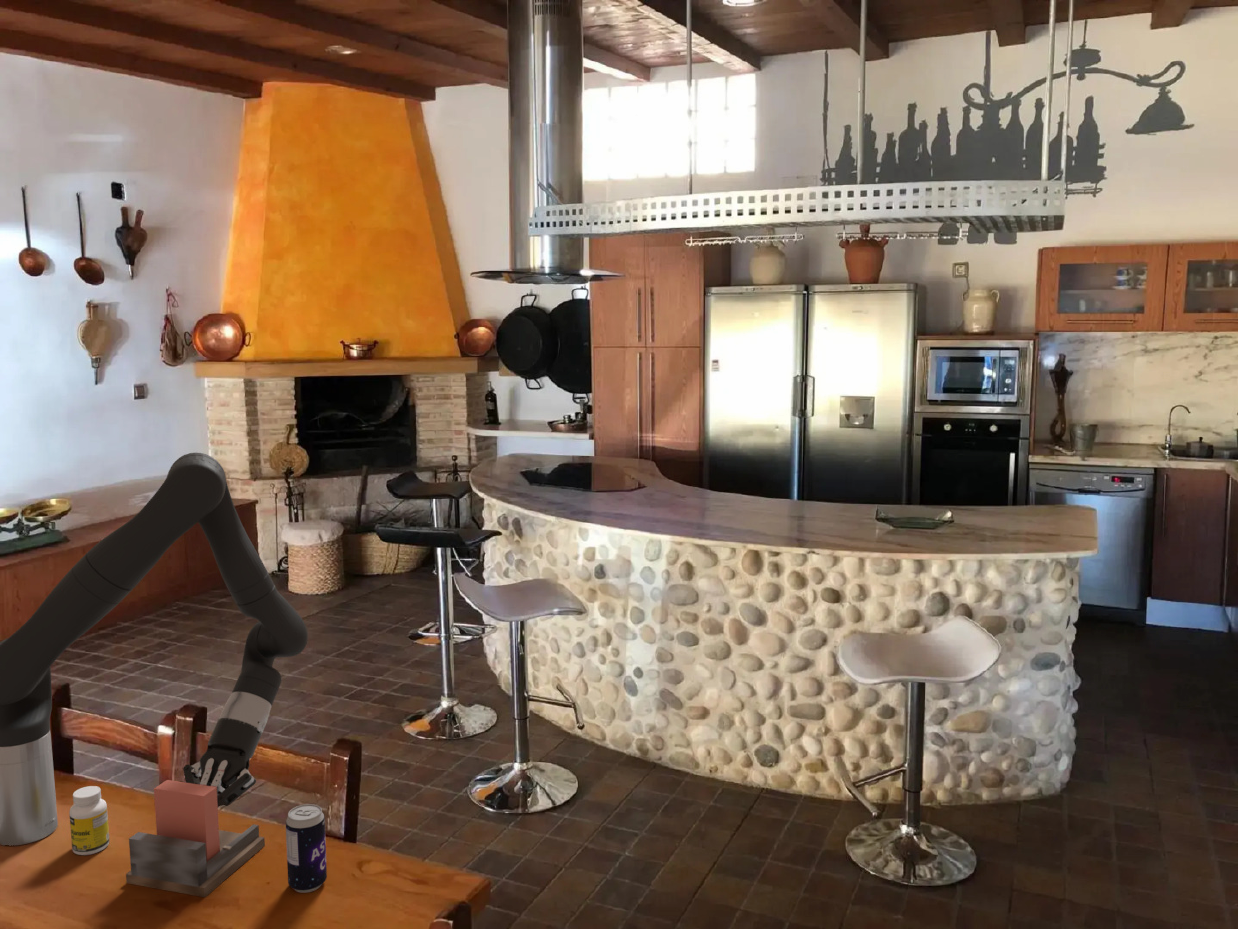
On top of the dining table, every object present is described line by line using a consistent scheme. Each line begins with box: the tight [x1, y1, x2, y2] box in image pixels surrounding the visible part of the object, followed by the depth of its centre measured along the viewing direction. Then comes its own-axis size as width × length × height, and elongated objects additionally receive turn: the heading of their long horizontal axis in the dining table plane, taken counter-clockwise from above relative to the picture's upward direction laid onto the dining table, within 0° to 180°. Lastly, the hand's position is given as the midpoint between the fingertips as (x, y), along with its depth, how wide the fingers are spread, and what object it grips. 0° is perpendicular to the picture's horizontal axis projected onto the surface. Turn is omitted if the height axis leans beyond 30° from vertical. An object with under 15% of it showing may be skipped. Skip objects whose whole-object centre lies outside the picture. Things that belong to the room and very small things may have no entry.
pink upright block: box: [153, 779, 220, 862], centre depth 152 cm, size 9×3×12 cm, turn 75°
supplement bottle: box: [68, 785, 110, 856], centre depth 159 cm, size 5×5×10 cm
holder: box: [125, 824, 266, 898], centre depth 154 cm, size 14×15×8 cm
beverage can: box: [285, 803, 328, 894], centre depth 149 cm, size 6×6×12 cm
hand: (196, 829), depth 154 cm, fingers closed
